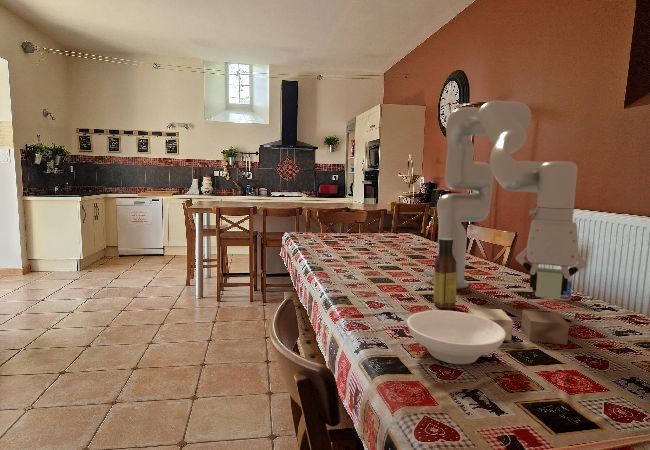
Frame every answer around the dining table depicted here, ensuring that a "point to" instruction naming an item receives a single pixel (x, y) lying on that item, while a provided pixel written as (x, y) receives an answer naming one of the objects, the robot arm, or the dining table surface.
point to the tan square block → (544, 327)
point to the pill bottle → (567, 294)
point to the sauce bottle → (445, 275)
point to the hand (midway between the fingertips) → (547, 291)
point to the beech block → (495, 318)
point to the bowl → (455, 335)
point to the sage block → (548, 283)
